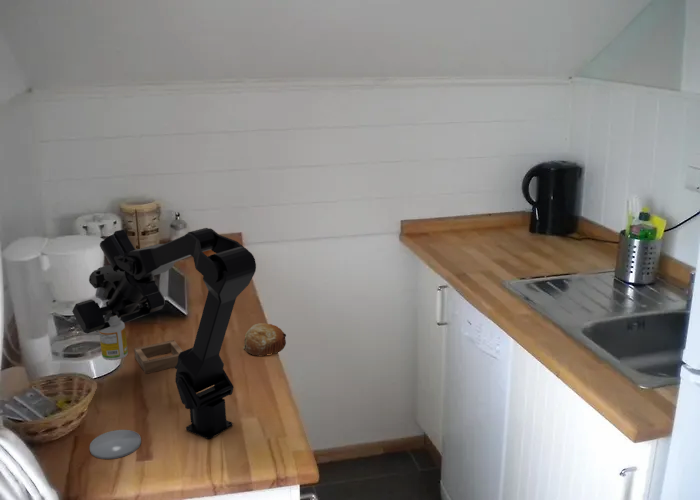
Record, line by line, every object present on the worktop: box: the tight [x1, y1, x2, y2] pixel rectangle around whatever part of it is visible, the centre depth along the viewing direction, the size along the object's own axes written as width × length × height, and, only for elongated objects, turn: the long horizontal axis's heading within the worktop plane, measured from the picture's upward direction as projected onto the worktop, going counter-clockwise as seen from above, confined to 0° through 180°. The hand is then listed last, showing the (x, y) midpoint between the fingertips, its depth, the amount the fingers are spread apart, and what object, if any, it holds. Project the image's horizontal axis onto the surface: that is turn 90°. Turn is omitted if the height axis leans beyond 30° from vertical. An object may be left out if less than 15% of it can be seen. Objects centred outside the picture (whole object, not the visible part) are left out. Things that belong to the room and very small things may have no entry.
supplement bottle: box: [98, 312, 129, 361], centre depth 156 cm, size 5×5×10 cm
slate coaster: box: [89, 429, 142, 460], centre depth 133 cm, size 9×9×1 cm
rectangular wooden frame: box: [133, 339, 184, 374], centre depth 167 cm, size 9×9×2 cm
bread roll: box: [242, 323, 287, 357], centre depth 174 cm, size 10×10×8 cm
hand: (108, 325), depth 157 cm, fingers closed on supplement bottle, 5 cm apart
